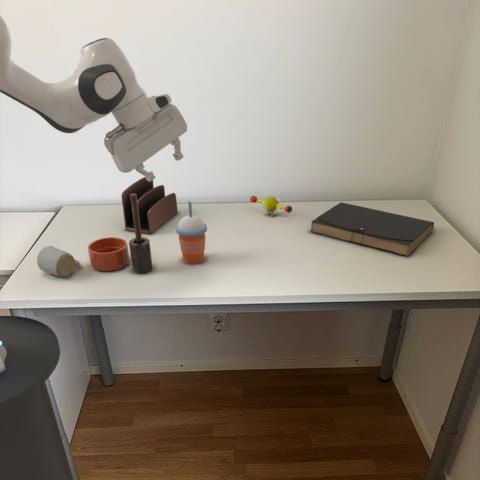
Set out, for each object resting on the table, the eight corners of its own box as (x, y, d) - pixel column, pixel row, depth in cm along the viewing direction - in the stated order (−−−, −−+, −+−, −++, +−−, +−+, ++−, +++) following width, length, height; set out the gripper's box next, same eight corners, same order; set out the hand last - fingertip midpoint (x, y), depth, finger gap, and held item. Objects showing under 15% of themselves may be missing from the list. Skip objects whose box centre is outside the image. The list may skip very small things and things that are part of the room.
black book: (310, 220, 168) (343, 200, 185) (309, 232, 170) (341, 211, 187) (409, 244, 152) (435, 219, 168) (406, 257, 154) (432, 231, 171)
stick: (143, 269, 148) (133, 195, 136) (138, 268, 149) (128, 195, 137) (146, 267, 149) (137, 194, 137) (142, 266, 150) (132, 193, 138)
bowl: (113, 275, 147) (110, 256, 143) (83, 267, 151) (79, 249, 148) (137, 259, 155) (134, 241, 152) (107, 252, 159) (104, 234, 156)
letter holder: (125, 230, 173) (119, 190, 165) (154, 210, 189) (150, 172, 181) (151, 234, 170) (146, 193, 162) (178, 213, 186) (175, 174, 178)
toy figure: (295, 218, 180) (296, 200, 176) (286, 223, 177) (287, 204, 173) (256, 207, 190) (256, 189, 186) (246, 211, 186) (246, 193, 183)
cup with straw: (180, 267, 150) (175, 209, 140) (176, 254, 158) (172, 197, 148) (210, 264, 152) (208, 206, 142) (206, 251, 159) (203, 195, 149)
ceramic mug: (60, 282, 144) (55, 257, 139) (39, 275, 147) (33, 251, 143) (87, 267, 151) (82, 243, 147) (66, 261, 155) (61, 237, 151)
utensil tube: (145, 275, 146) (141, 246, 141) (129, 271, 148) (125, 243, 144) (156, 267, 151) (153, 239, 146) (140, 263, 153) (137, 235, 148)
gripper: (106, 135, 109) (140, 192, 116) (174, 91, 117) (202, 146, 124) (94, 139, 114) (128, 193, 121) (160, 96, 122) (188, 149, 129)
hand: (166, 169), depth 123 cm, fingers open, 8 cm apart
